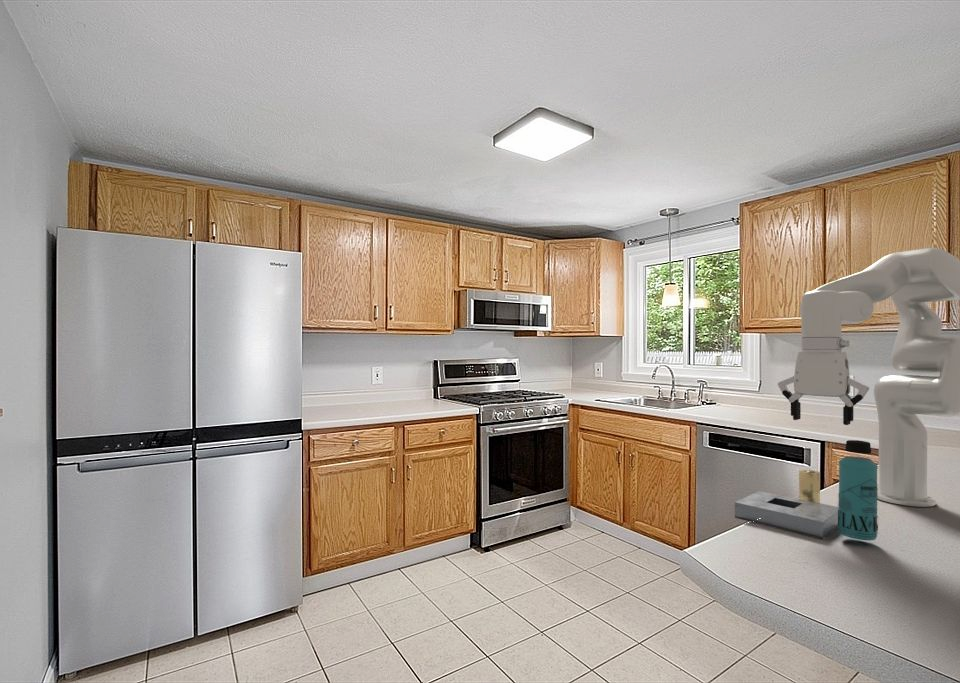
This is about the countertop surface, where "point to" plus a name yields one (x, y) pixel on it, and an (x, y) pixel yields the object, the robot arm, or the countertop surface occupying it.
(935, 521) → the countertop surface
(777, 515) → the jig
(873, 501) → the beverage bottle
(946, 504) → the countertop surface
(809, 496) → the bushing
